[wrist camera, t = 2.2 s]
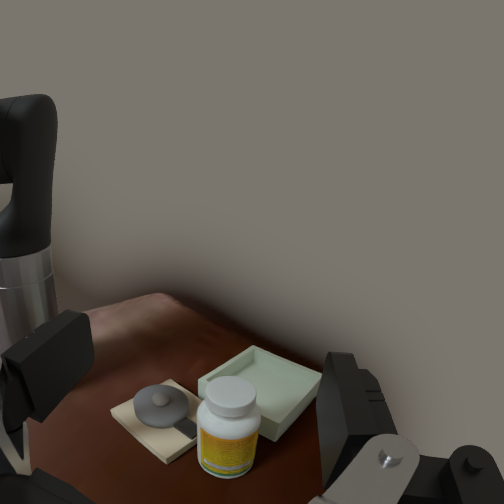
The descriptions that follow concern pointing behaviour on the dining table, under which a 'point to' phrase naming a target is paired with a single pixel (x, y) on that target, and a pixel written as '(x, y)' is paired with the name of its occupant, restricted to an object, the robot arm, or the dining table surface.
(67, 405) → the dining table surface
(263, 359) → the tray
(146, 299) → the dining table surface
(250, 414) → the supplement bottle
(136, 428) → the beige board with disc
